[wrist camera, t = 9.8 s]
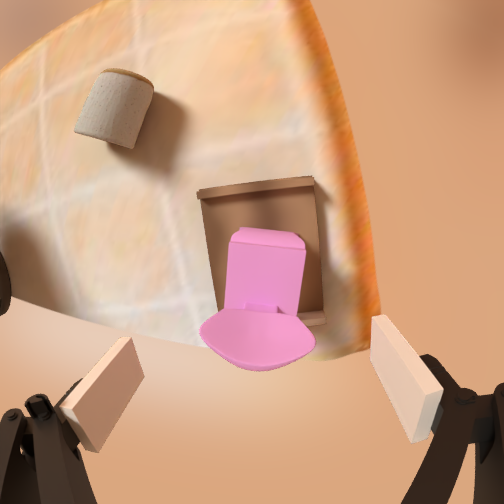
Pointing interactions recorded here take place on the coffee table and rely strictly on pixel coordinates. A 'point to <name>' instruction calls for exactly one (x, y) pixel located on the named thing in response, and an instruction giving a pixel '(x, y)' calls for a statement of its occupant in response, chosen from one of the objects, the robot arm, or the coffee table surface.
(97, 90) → the ceramic mug
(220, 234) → the shelf board
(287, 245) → the toy chair
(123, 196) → the coffee table surface
